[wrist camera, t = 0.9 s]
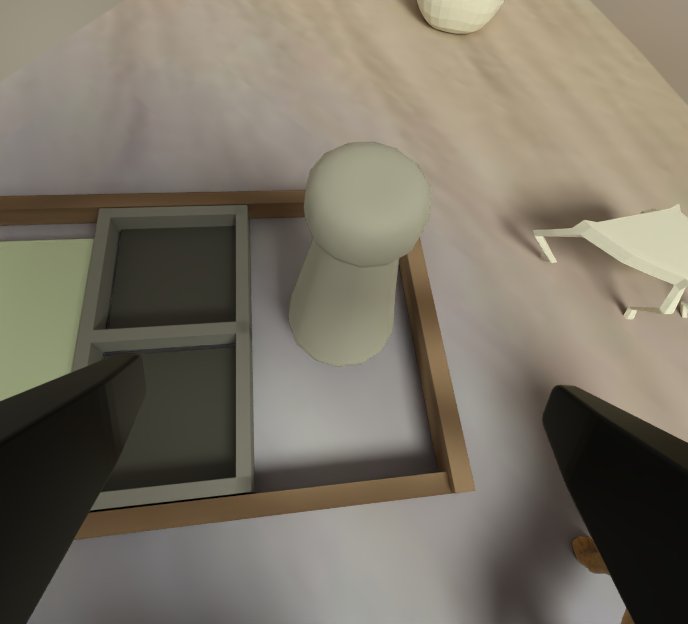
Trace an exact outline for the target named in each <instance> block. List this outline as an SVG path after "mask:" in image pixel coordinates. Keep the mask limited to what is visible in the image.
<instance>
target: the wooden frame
mask: <svg viewBox="0 0 688 624" xmlns="http://www.w3.org/2000/svg"><path fill="white" fill-rule="evenodd" d="M305 193H306V190H289V191H238V192H188V193H138V194H88V195H37V196H0V225H35V224H70V223H97V220H98V214H99V208H141V207H182V206H223V205H247V207H248V212H249V218H281V217H305V212H304V201H305ZM399 267H400V272H401V278H402V283H403V288H404V293H405V299H406V304H407V309H408V315H409V320H410V325H411V330H412V336H413V341H414V346H415V351H416V357H417V362H418V367H419V372H420V378H421V383H422V388H423V394H424V399H425V404H426V409H427V415H428V420H429V425H430V430H431V436H432V441H433V446H434V451H435V457H436V462H437V467H438V473H430V474H422V475H413V476H404V477H396V478H387V479H378V480H370V481H361V482H352V483H344V484H335V485H326V486H318V487H309V488H300V489H292V490H283V491H274V492H266V493H257V494H248V495H240V496H231V497H222V498H214V499H205V500H196V501H188V502H179V503H170V504H162V505H153V506H144V507H136V508H127V509H118V510H110V511H101V512H92V513H89V514H88V515H87V517H86V519H85V521H84V522H83V524H82V526H81V528H80V530H79V531H78V533H77V535H76V537H75V538H74V540H77V539H85V538H93V537H101V536H109V535H117V534H125V533H134V532H142V531H150V530H158V529H166V528H174V527H182V526H190V525H199V524H207V523H215V522H223V521H231V520H239V519H247V518H256V517H264V516H272V515H280V514H288V513H296V512H304V511H312V510H321V509H329V508H337V507H345V506H353V505H361V504H369V503H378V502H386V501H394V500H402V499H410V498H418V497H426V496H434V495H443V494H451V493H461V492H469V491H475V486H474V482H473V477H472V473H471V468H470V463H469V459H468V454H467V450H466V445H465V441H464V436H463V432H462V427H461V423H460V418H459V414H458V409H457V405H456V400H455V396H454V391H453V386H452V382H451V377H450V373H449V368H448V364H447V359H446V355H445V350H444V346H443V341H442V337H441V332H440V328H439V323H438V319H437V314H436V309H435V305H434V300H433V296H432V291H431V287H430V282H429V278H428V273H427V269H426V264H425V260H424V255H423V251H422V246H421V242H420V237H419V239H418V240H417V242H416V244H415V246H414V247H413V249H412V251H410V252H409V253H408V254H406V255H404V256H403V257H401V258H399Z"/></svg>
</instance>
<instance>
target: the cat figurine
mask: <svg viewBox="0 0 688 624" xmlns="http://www.w3.org/2000/svg"><path fill="white" fill-rule="evenodd" d="M504 1H505V0H417V3H418V6H419V9H420V11H421V13H422V15H423V16H424V18H425V20H426V21H427V22H428V23H429V25H431V26H432V27H433V28H435V29H438V30H442V31H445V32H450V33H456V34H469V33H472V32H474V31H477V30H479V29H481V28H482V27H483V26H484V25H485V24H486V23H487V22H488V21H489V20H490V19H491V18H492V17H493V16H494V15H495V13H496V12H497V11H498V9H499V8H500V6H501V5H502V4H503V2H504Z"/></svg>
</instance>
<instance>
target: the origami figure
mask: <svg viewBox="0 0 688 624" xmlns="http://www.w3.org/2000/svg"><path fill="white" fill-rule="evenodd" d="M533 232H534V235H535V237H536V239H537V241H538V242H539V244H540V246H541V247H542V249H543V251H544V253H545V254H540V256H541V258H542V259H544V260H546V261H548V262H551V263H556V262H557V261H556V259H555V257H554V255H553V253H552V251H551V249H550V247H549V245H548V243H547V241H546V239H545V237H544V236H550V237H584V238H585V239H587V240H588V241H590V242H591V243H593V244H594V245H596V246H597V247H599V248H600V249H602V250H603V251H605V252H606V253H608V254H609V255H611V256H612V257H614V258H615V259H617V260H618V261H620V262H621V263H624V264H626V265H628V266H630V267H633V268H635V269H637V270H640V271H642V272H644V273H646V274H649V275H651V276H654V277H656V278H659V279H661V280H664V281H666V282H669V283H671V284H674V287H673V288H672V290H671V292H670V293H669V295H668V296H667V298H666V300H665V301H664V303H663V304H662V306H661V307H660V308H649V307H628V309H627V310H626V312H625V314H624V315H623V316H624V317H625V318H626V319H633V318H634V316H635V314H636V312H637V310H638V311H645V312H652V313H659V314H673V312H674V310H675V308H676V306H677V305H678V303H679V301H680V298H681V296H682V294H683V292H684V289H685V287H688V218H687V217H686V216H685V215H684V214H683V213H681V212H680V204H677V205H676V206H674V207H672V208H670V209H665V210H656V209H651V210H647V211H643V212H641V213H640V214H638V215H633V216H627V217H622V218H617V219H612V220H606V221H601V222H593V221H588V220H583V221H582V222H580V223H579V224H577V225H576V226H574V227H573V228H565V229H551V230H533ZM687 312H688V302H680V313H681V316H682V318H687Z"/></svg>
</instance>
